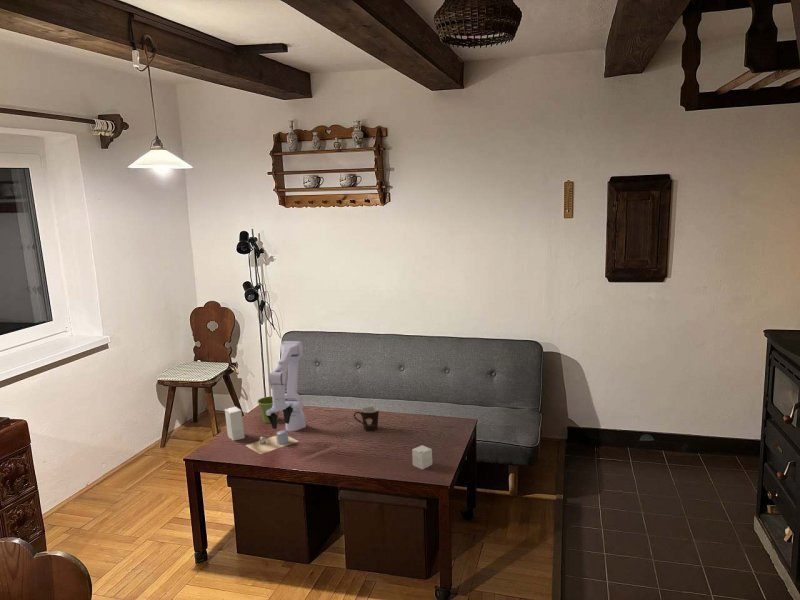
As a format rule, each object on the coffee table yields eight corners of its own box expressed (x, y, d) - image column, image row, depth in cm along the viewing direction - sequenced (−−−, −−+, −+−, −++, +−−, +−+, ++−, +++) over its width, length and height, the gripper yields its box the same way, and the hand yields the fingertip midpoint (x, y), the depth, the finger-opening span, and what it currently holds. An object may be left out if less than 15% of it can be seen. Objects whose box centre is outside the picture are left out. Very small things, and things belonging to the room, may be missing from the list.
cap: (284, 439, 298) (284, 429, 298) (290, 442, 295) (289, 432, 294) (275, 442, 295) (274, 432, 294) (281, 445, 291) (280, 435, 290)
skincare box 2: (422, 461, 273) (421, 444, 271) (432, 465, 268) (432, 448, 267) (412, 465, 269) (411, 449, 267) (422, 469, 264) (422, 453, 263)
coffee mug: (383, 427, 312) (382, 408, 310) (373, 433, 305) (372, 413, 303) (363, 423, 318) (362, 404, 316) (353, 429, 311) (352, 410, 309)
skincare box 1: (245, 440, 303) (242, 410, 300) (232, 443, 299) (230, 413, 297) (239, 434, 310) (236, 405, 307) (226, 437, 306) (224, 408, 304)
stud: (264, 441, 297) (263, 435, 296) (266, 443, 295) (266, 437, 294) (259, 443, 295) (258, 437, 294) (261, 445, 293) (261, 438, 292)
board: (283, 435, 306) (282, 433, 306) (298, 443, 296) (298, 441, 296) (245, 447, 293) (245, 445, 293) (260, 456, 283) (260, 454, 283)
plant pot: (254, 421, 327) (252, 400, 325) (274, 415, 335) (272, 394, 333) (266, 427, 318) (265, 405, 316) (286, 420, 326) (285, 399, 324)
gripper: (284, 391, 299) (286, 419, 302) (260, 400, 288) (262, 429, 290) (295, 394, 295) (297, 422, 297) (271, 403, 284) (273, 432, 286)
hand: (280, 425), depth 293 cm, fingers open, 7 cm apart
